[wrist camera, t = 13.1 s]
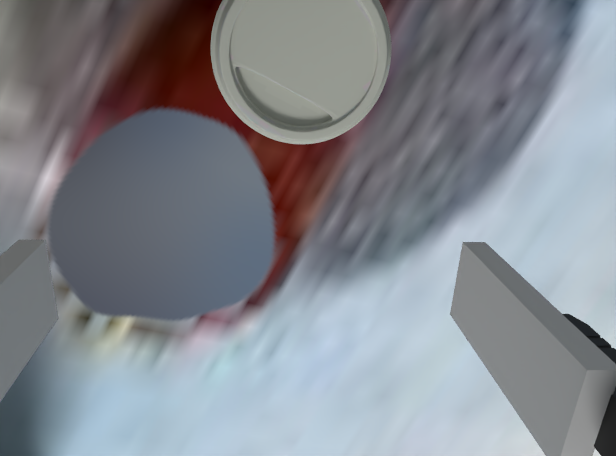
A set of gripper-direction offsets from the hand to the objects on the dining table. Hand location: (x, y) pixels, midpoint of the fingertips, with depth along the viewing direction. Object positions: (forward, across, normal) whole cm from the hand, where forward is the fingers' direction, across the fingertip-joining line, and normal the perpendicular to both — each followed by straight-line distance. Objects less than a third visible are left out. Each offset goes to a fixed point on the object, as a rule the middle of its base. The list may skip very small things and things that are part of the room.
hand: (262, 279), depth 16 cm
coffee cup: (+21, +2, +7) cm, 22 cm away
